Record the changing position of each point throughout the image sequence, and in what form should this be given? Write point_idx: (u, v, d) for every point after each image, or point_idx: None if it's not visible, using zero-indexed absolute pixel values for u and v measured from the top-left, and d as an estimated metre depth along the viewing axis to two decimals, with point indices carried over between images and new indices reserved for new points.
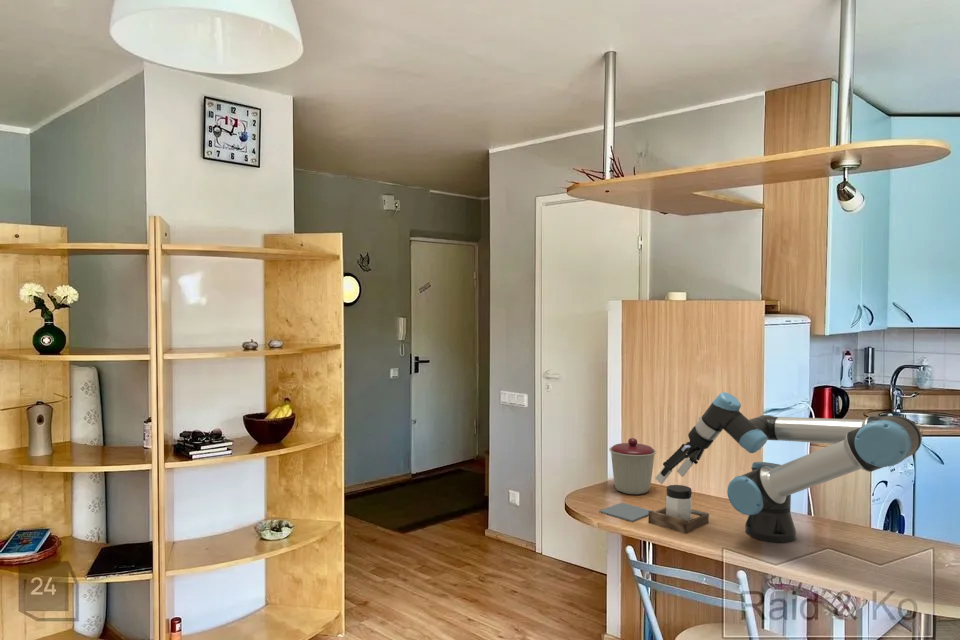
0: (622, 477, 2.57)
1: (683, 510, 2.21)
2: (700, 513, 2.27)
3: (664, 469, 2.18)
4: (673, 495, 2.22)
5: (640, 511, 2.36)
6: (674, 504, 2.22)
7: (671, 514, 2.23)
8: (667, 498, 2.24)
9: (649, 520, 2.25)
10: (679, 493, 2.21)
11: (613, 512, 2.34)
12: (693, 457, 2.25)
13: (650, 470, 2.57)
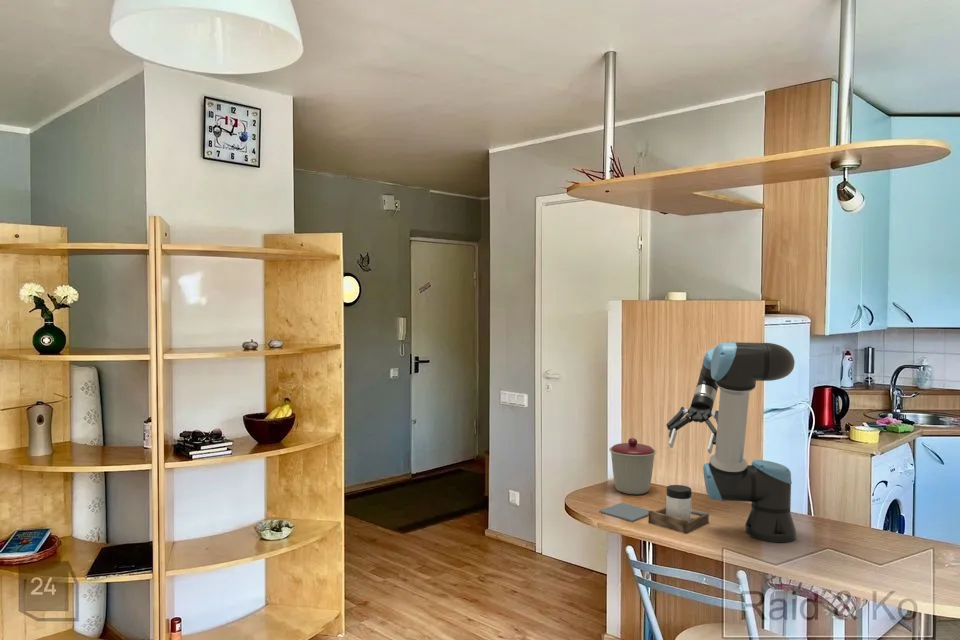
0: (622, 477, 2.57)
1: (683, 510, 2.21)
2: (700, 513, 2.27)
3: None
4: (673, 495, 2.22)
5: (640, 511, 2.36)
6: (674, 504, 2.22)
7: (671, 514, 2.23)
8: (667, 498, 2.24)
9: (649, 520, 2.25)
10: (679, 493, 2.21)
11: (613, 512, 2.34)
12: (710, 427, 2.34)
13: (650, 470, 2.57)
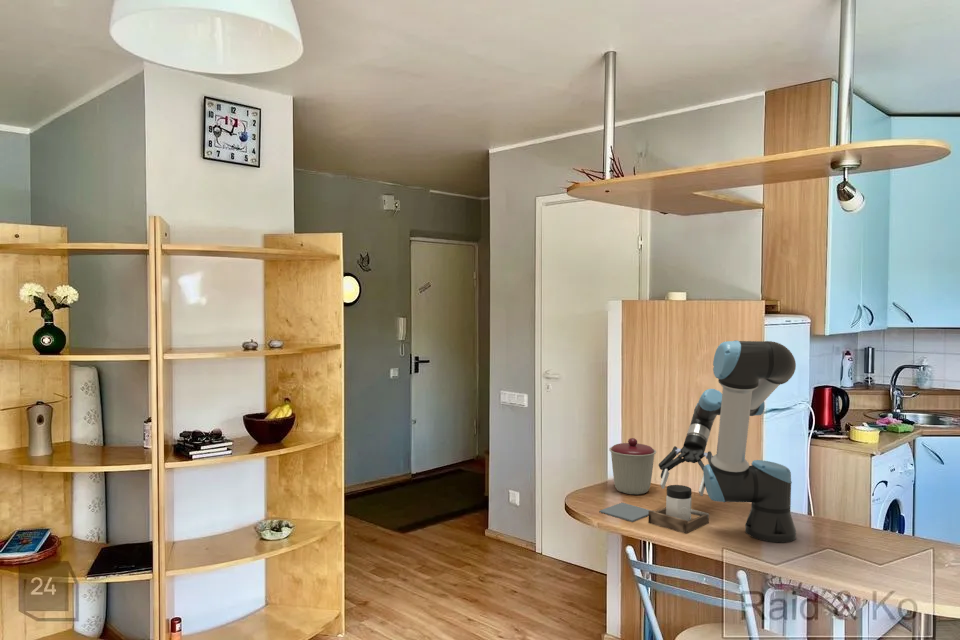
0: (622, 477, 2.57)
1: (683, 510, 2.21)
2: (700, 513, 2.27)
3: None
4: (673, 495, 2.22)
5: (640, 511, 2.36)
6: (674, 504, 2.22)
7: (671, 514, 2.23)
8: (667, 498, 2.24)
9: (649, 520, 2.25)
10: (679, 493, 2.21)
11: (613, 512, 2.34)
12: (702, 469, 2.31)
13: (650, 470, 2.57)
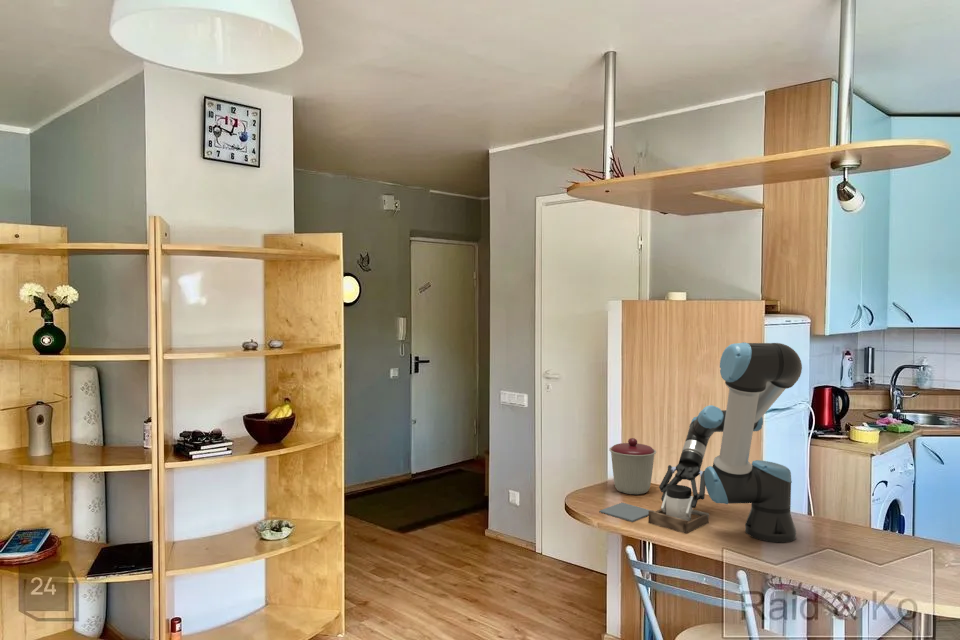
0: (622, 477, 2.57)
1: (683, 510, 2.21)
2: (700, 513, 2.27)
3: None
4: (672, 495, 2.22)
5: (640, 511, 2.36)
6: (674, 503, 2.22)
7: (671, 514, 2.23)
8: (667, 498, 2.24)
9: (649, 520, 2.25)
10: (679, 493, 2.21)
11: (613, 512, 2.34)
12: (692, 488, 2.26)
13: (650, 470, 2.57)
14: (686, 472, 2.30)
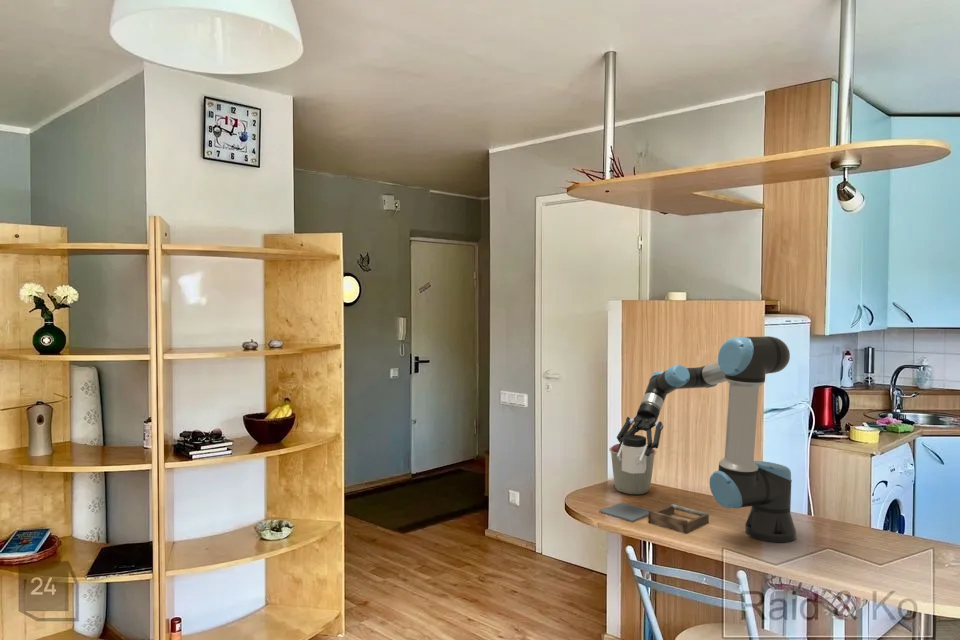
0: (622, 477, 2.57)
1: (637, 458, 2.31)
2: (700, 513, 2.27)
3: None
4: (627, 443, 2.32)
5: (640, 511, 2.36)
6: (629, 451, 2.32)
7: (626, 462, 2.33)
8: (623, 447, 2.34)
9: (649, 520, 2.25)
10: (633, 441, 2.31)
11: (613, 512, 2.34)
12: (647, 438, 2.35)
13: (650, 470, 2.57)
14: (643, 423, 2.40)
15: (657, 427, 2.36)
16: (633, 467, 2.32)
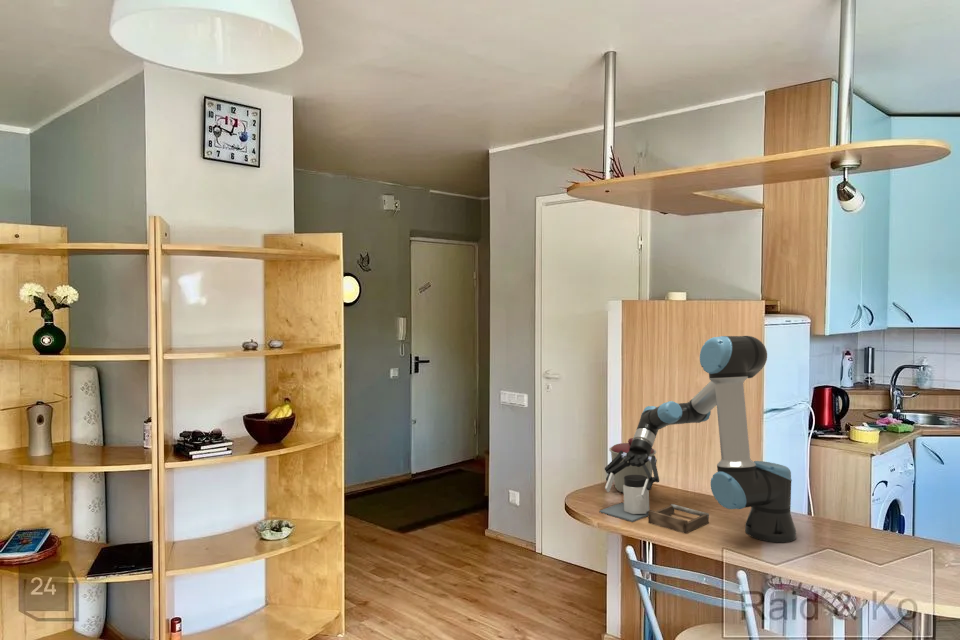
0: (622, 477, 2.57)
1: (638, 498, 2.31)
2: (700, 513, 2.27)
3: None
4: (628, 484, 2.33)
5: None
6: (629, 492, 2.33)
7: (627, 502, 2.34)
8: (624, 487, 2.35)
9: (649, 520, 2.25)
10: (633, 482, 2.32)
11: (613, 512, 2.34)
12: (646, 473, 2.35)
13: (650, 470, 2.57)
14: (635, 459, 2.41)
15: (652, 461, 2.37)
16: (634, 508, 2.32)
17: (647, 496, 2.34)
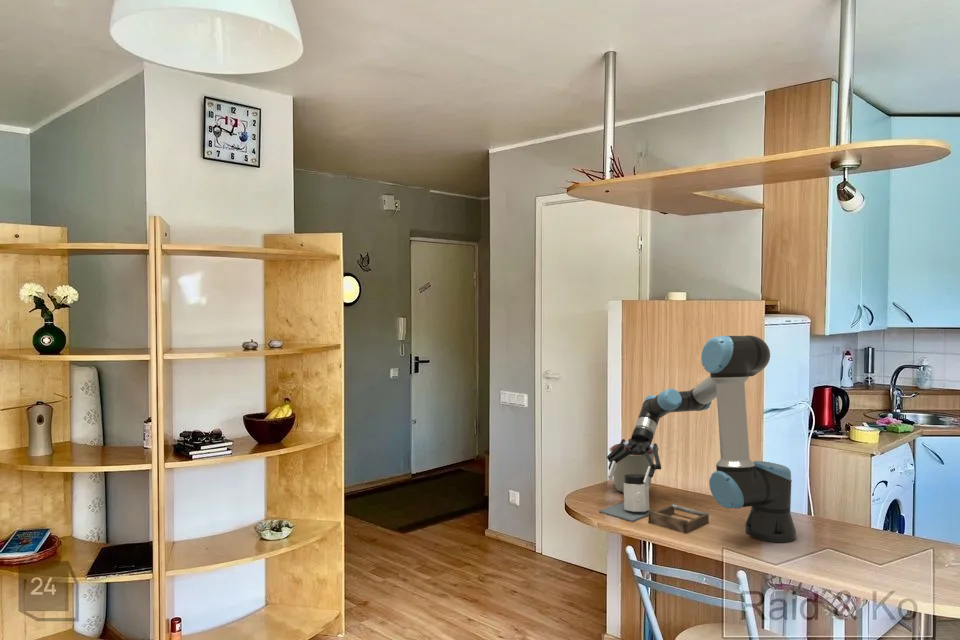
0: (622, 477, 2.57)
1: (638, 496, 2.32)
2: (700, 513, 2.27)
3: None
4: (628, 481, 2.34)
5: None
6: (630, 489, 2.34)
7: (628, 500, 2.34)
8: (624, 485, 2.36)
9: (649, 520, 2.25)
10: (634, 478, 2.33)
11: (613, 512, 2.34)
12: (648, 460, 2.38)
13: None
14: (637, 447, 2.43)
15: (654, 449, 2.39)
16: (634, 505, 2.32)
17: (647, 494, 2.35)
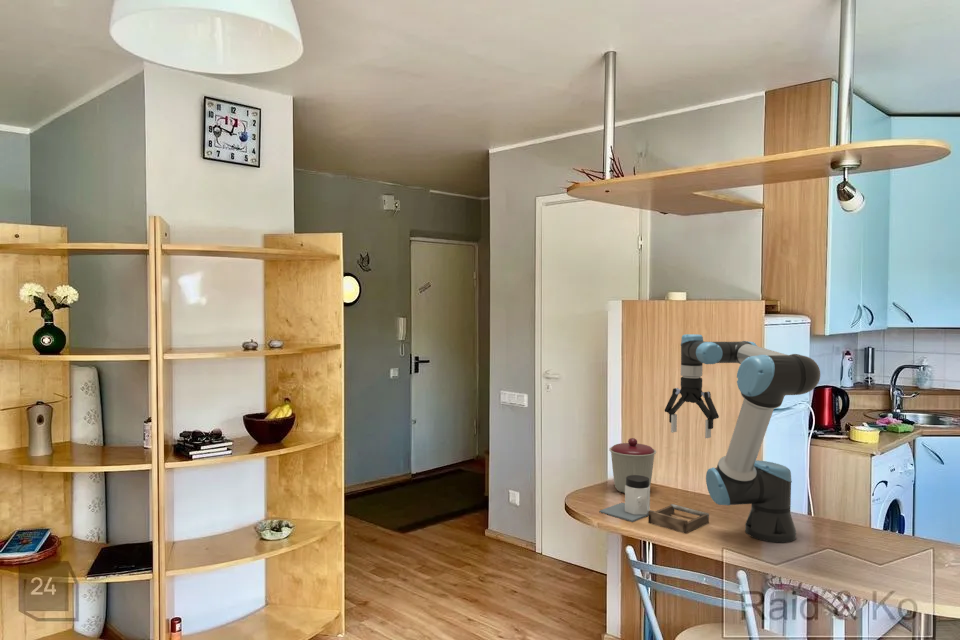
0: (622, 477, 2.57)
1: (640, 499, 2.31)
2: (700, 513, 2.27)
3: None
4: (630, 484, 2.33)
5: None
6: (631, 492, 2.32)
7: (629, 502, 2.33)
8: (625, 487, 2.35)
9: (649, 520, 2.25)
10: (636, 483, 2.31)
11: (613, 512, 2.34)
12: None
13: (650, 470, 2.57)
14: (689, 397, 2.40)
15: (706, 399, 2.35)
16: (635, 508, 2.32)
17: (648, 497, 2.34)
